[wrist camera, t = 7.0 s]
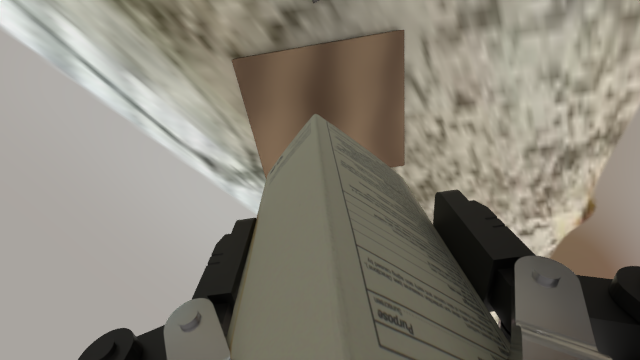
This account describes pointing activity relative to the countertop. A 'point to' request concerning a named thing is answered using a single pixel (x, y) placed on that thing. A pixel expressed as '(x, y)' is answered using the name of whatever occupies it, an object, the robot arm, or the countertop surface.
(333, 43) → the wooden board
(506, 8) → the countertop surface
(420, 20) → the countertop surface
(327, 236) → the skincare box
